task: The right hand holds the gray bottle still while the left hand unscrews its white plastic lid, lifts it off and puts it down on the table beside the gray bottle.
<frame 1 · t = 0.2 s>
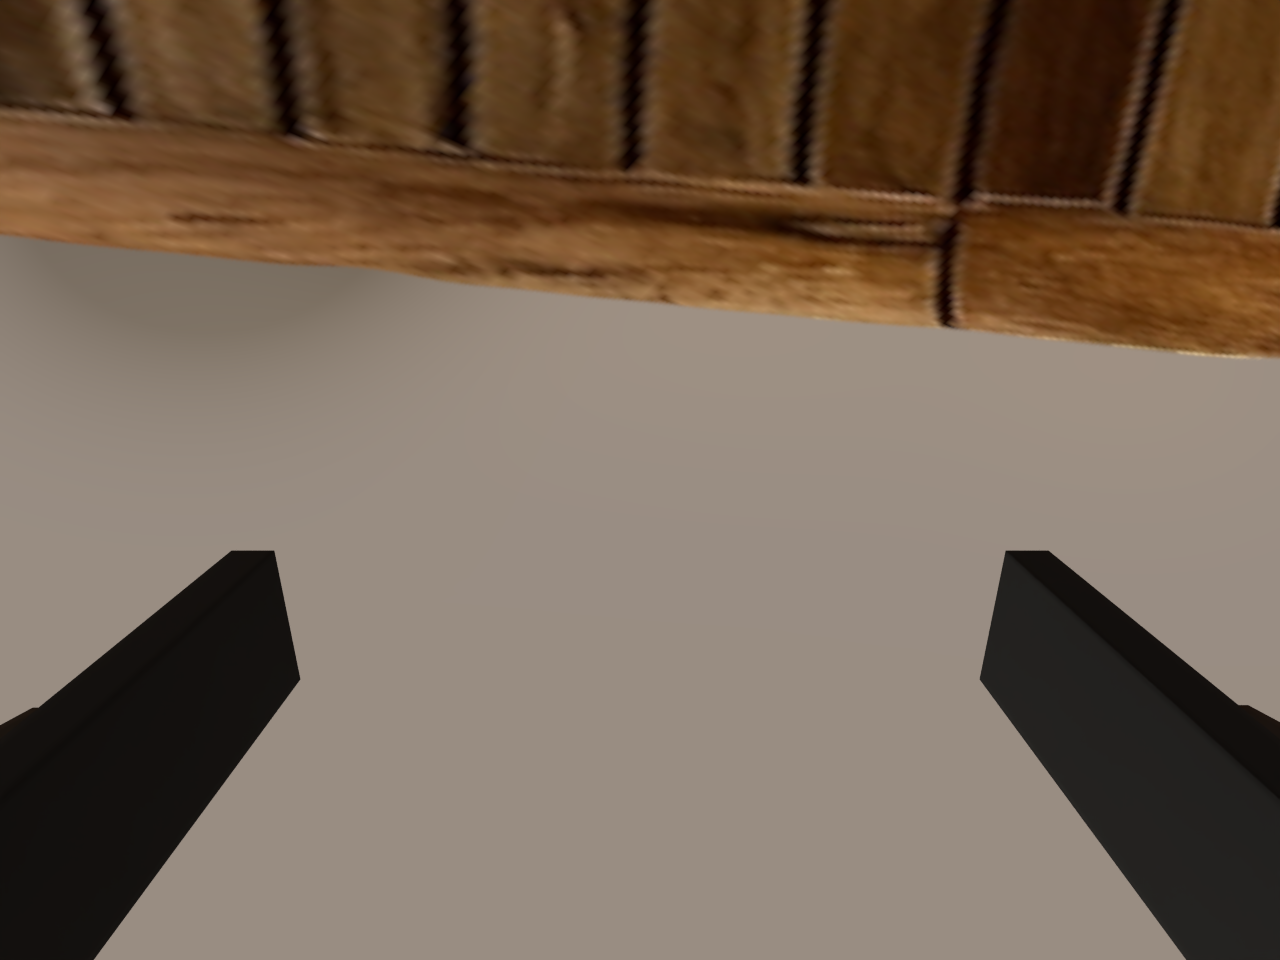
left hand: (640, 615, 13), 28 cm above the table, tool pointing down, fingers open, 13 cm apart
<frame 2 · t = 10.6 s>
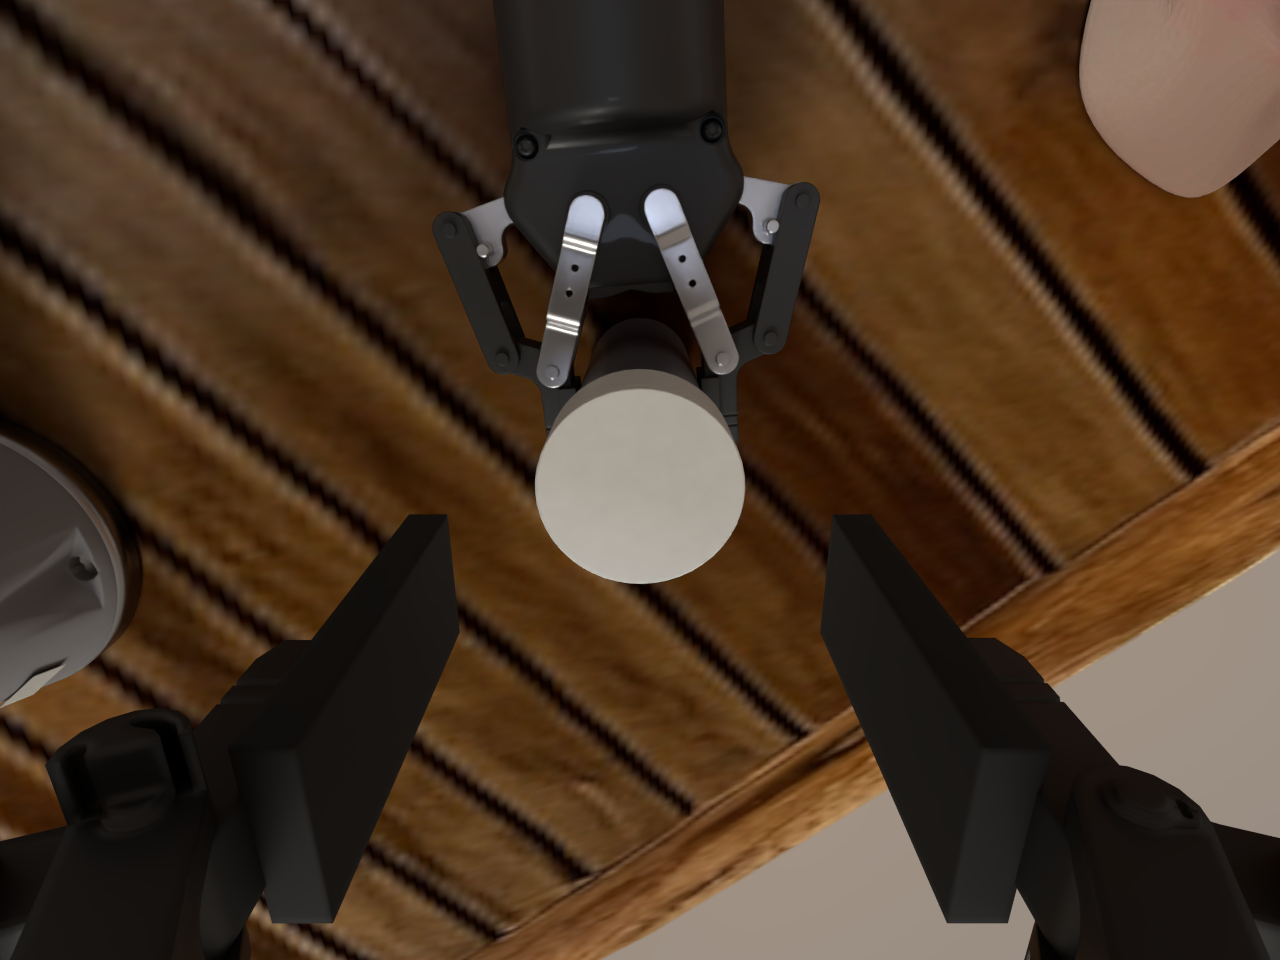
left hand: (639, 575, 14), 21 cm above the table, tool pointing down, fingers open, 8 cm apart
right hand: (645, 464, 29), fingers closed on gray bottle, 4 cm apart
gray bottle: (640, 367, 34), on the table, touching right hand
anatomical model: (1213, 14, 29), on the table
lid: (640, 486, 19), point 16 cm above the table, screwed on, not yet turned
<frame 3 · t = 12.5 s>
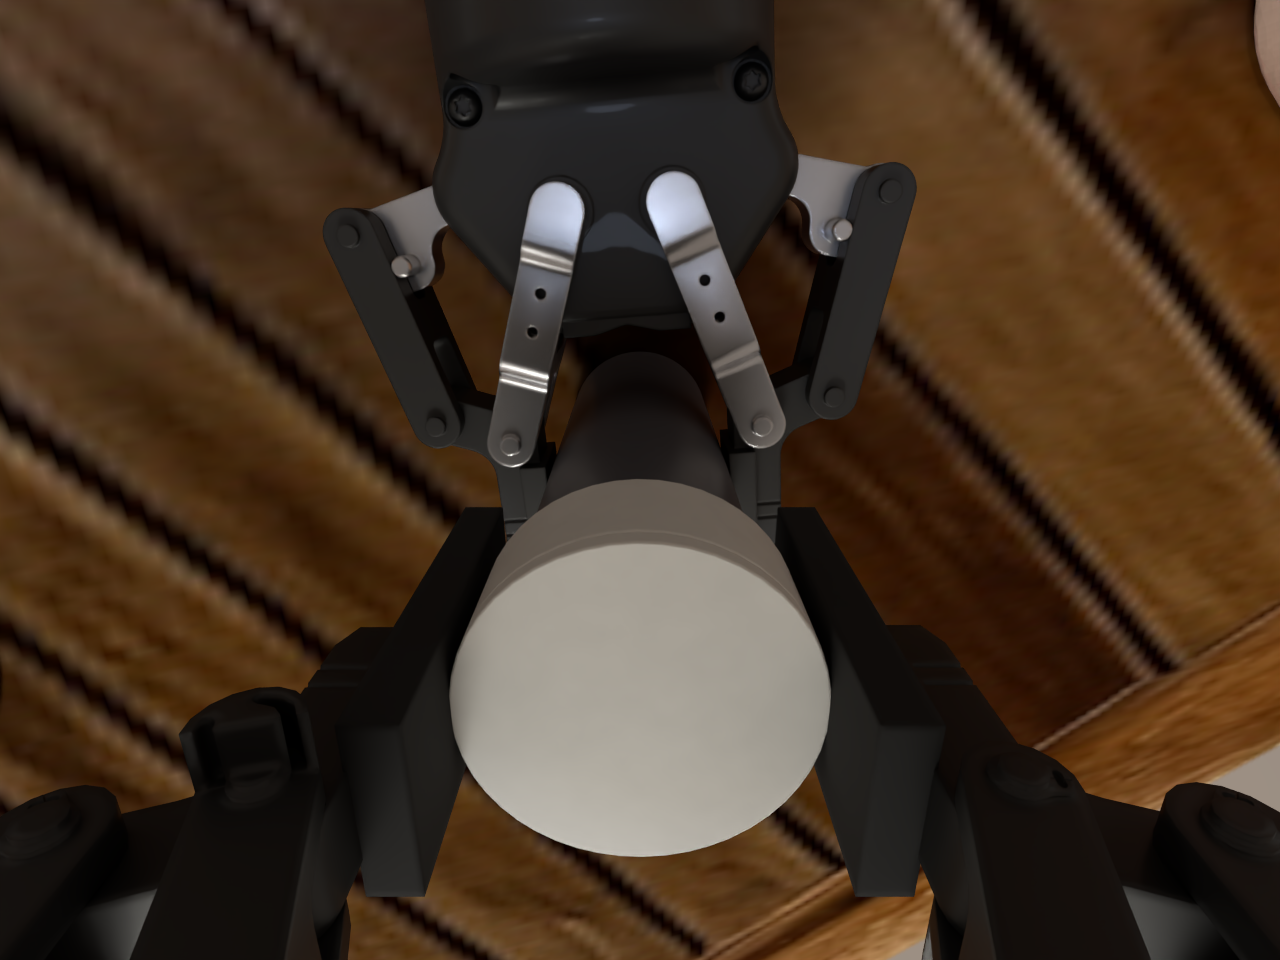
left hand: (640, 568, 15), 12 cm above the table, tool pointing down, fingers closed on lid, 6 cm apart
right hand: (648, 565, 20), fingers closed on gray bottle, 4 cm apart
gray bottle: (639, 416, 26), on the table, touching right hand
lid: (640, 699, 11), point 16 cm above the table, screwed on, not yet turned, touching left hand
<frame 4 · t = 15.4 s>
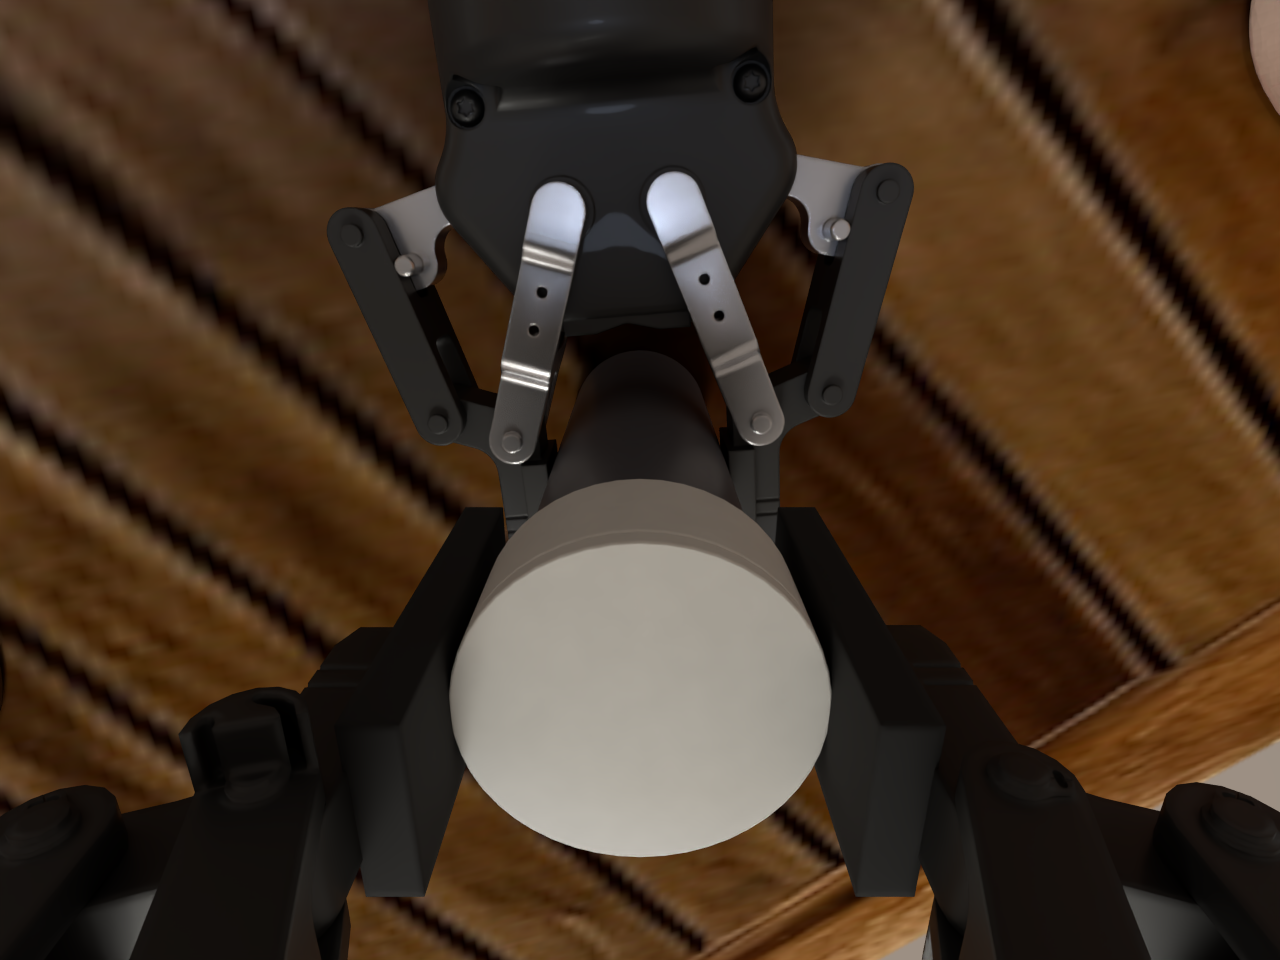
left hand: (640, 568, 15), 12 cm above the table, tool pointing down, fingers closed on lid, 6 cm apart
right hand: (648, 562, 20), fingers closed on gray bottle, 4 cm apart
gray bottle: (640, 414, 26), on the table, touching right hand
lid: (640, 699, 11), point 16 cm above the table, turned 67° so far, risen 0.2 cm, still on its thread, touching left hand
when the left hand's fingers open (0 cm above the table, at t = 24.7 s): lid drops 2 cm, point 2 cm above the table.
when the right hand's fingers open (7 cm above the table, at t = 25.9 s): gray bottle stays where it is, on the table.
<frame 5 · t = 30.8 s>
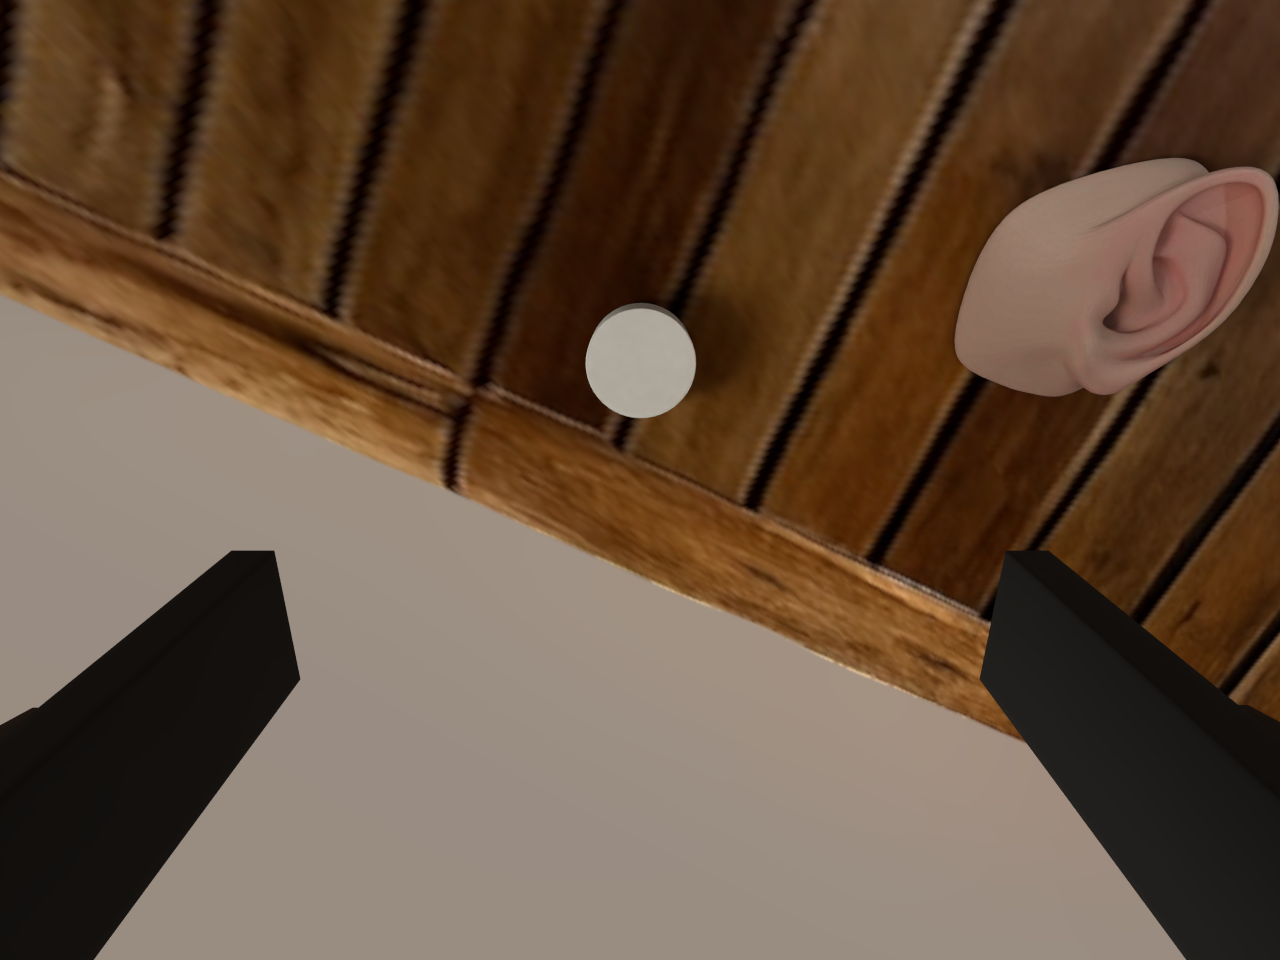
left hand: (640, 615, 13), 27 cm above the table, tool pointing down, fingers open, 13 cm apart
anatomical model: (1082, 285, 37), on the table
lid: (640, 363, 36), point 2 cm above the table, off its thread
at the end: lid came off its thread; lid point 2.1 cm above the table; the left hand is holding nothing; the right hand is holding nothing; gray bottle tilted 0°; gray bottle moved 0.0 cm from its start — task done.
